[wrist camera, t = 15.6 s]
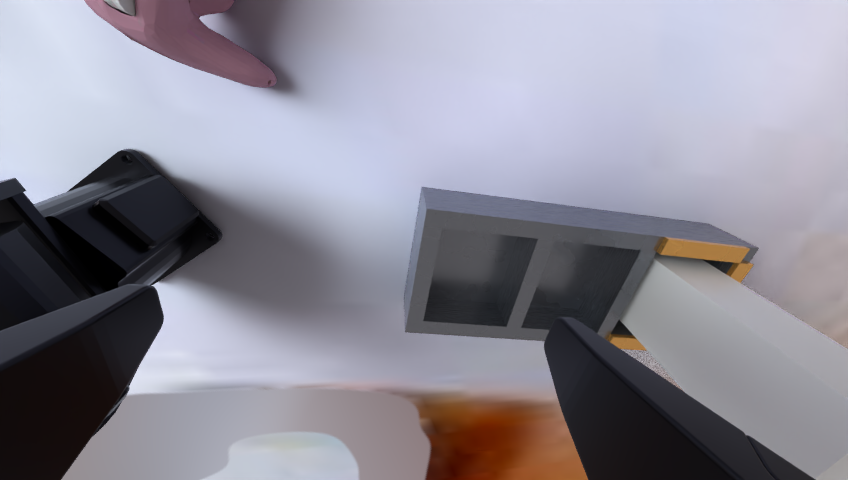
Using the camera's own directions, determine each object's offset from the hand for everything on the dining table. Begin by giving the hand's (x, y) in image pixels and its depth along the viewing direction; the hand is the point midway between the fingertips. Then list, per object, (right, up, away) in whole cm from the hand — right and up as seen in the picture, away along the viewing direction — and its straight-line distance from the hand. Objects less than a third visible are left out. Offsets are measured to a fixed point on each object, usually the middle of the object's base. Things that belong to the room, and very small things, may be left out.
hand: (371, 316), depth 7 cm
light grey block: (+17, -1, +16) cm, 23 cm away
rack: (+11, 0, +16) cm, 19 cm away
